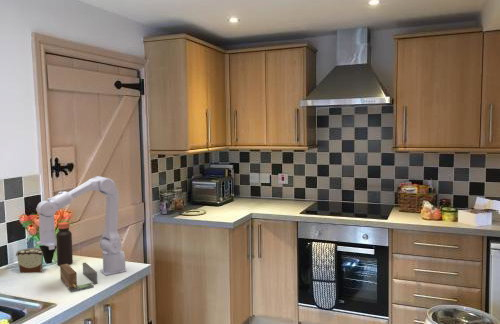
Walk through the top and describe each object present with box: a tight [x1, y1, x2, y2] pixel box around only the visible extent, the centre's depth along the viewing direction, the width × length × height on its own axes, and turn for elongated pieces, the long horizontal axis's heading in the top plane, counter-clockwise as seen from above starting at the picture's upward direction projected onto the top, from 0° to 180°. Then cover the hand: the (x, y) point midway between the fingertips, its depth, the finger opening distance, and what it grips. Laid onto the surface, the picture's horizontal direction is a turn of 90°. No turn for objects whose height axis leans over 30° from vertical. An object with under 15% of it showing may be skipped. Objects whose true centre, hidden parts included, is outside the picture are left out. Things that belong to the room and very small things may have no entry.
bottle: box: [55, 221, 74, 267], centre depth 204 cm, size 7×7×20 cm
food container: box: [15, 247, 44, 274], centre depth 196 cm, size 12×6×10 cm, turn 92°
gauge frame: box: [68, 262, 98, 294], centre depth 182 cm, size 12×19×5 cm, turn 38°
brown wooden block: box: [59, 264, 78, 288], centre depth 179 cm, size 3×18×6 cm, turn 38°
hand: (48, 262), depth 175 cm, fingers closed
